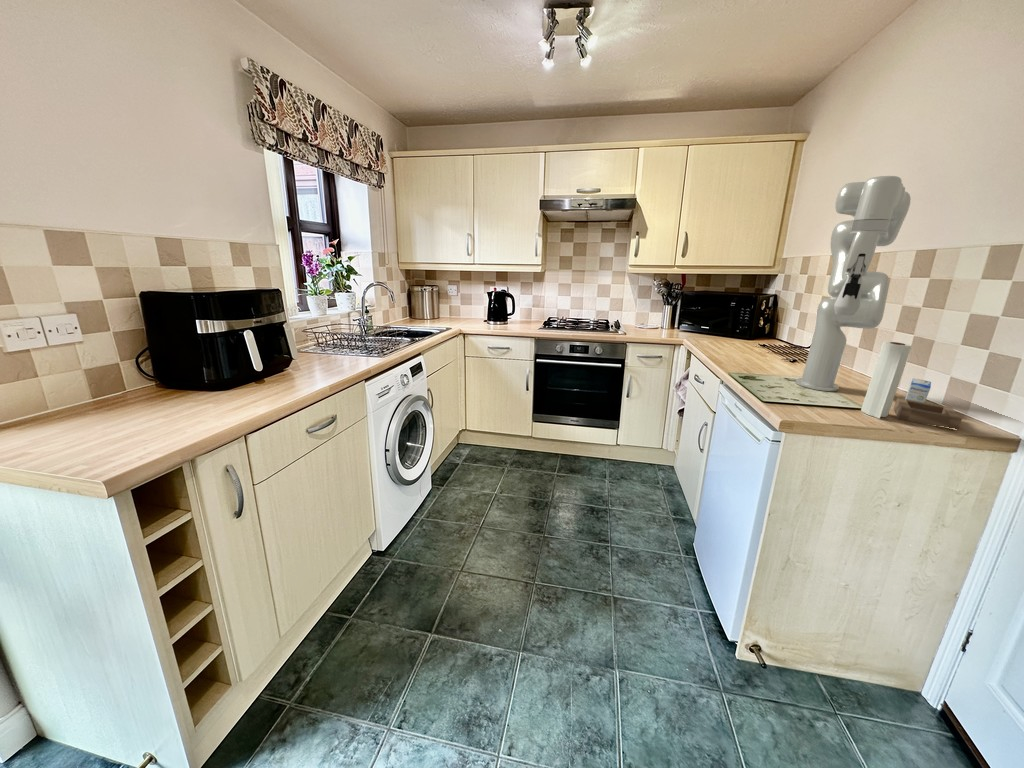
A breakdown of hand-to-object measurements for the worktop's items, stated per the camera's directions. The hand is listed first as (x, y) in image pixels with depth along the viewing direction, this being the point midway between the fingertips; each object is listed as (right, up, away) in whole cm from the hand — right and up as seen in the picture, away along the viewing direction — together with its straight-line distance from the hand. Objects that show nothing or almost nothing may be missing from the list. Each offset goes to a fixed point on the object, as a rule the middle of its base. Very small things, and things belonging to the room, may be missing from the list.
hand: (849, 297), depth 114 cm
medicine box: (+32, -32, +14) cm, 47 cm away
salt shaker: (0, -5, +2) cm, 5 cm away
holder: (+25, -34, +4) cm, 43 cm away
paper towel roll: (+12, -33, +6) cm, 36 cm away
